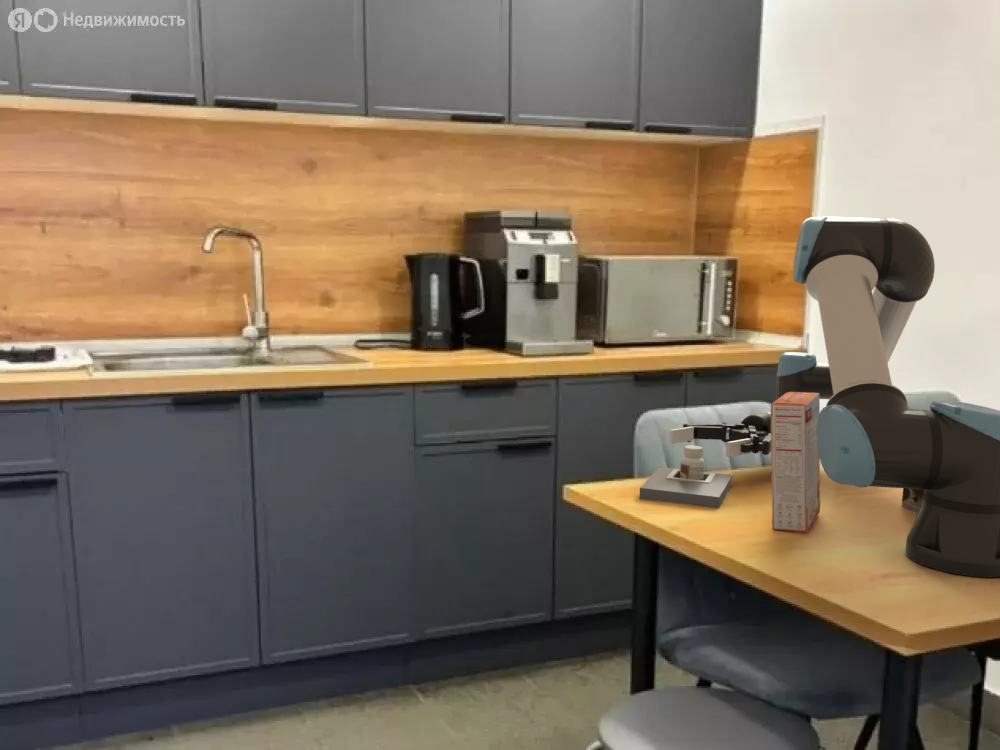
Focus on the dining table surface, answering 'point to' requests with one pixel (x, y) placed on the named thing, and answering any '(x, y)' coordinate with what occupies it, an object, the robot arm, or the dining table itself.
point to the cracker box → (795, 461)
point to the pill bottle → (692, 463)
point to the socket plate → (686, 488)
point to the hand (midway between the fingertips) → (698, 443)
